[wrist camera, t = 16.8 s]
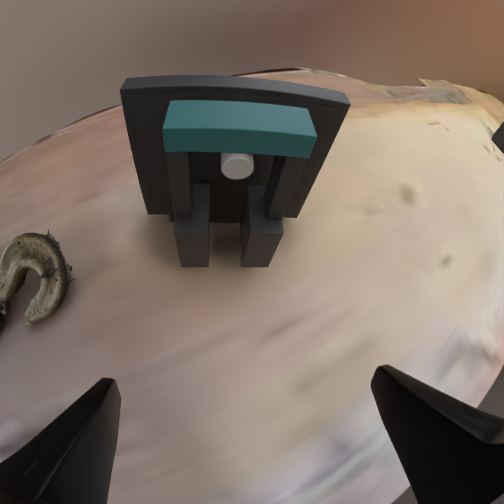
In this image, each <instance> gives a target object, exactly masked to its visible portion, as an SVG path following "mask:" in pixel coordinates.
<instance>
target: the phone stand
mask: <svg viewBox="0 0 504 504" xmlns="http://www.w3.org/2000/svg"><path fill="white" fill-rule="evenodd" d="M492 140H493V142H494V143H495V144H496V145H497V146H498V147H499V148H500V149H501V151H502V152H503V153H504V122H503V123H502V124H501V126H500V127H499V128H498V129H497V131H496V132H495V133H494V135H493V137H492Z"/></svg>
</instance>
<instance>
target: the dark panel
mask: <svg viewBox="0 0 504 504" xmlns="http://www.w3.org/2000/svg"><path fill="white" fill-rule="evenodd" d="M120 94H121V99H122V105H123V111H124V116H125V121H126V127H127V131H128V136H129V141H130V146H131V150H132V154H133V159H134V163H135V167H136V171H137V175H138V179H139V183H140V187H141V191H142V195H143V199H144V202H145V206H146V210H147V213H148V215H169V218H170V222H175V214H174V208H173V201H172V195H171V188H170V181H169V173H168V166H167V158H166V152H165V148H164V140H163V131H162V128H163V124H164V121H165V117H166V113H167V110H168V106H169V103H170V101H174V100H214V101H238V102H252V103H264V104H274V105H283V106H291V107H299V108H306V109H308V111H309V114H310V117H311V120H312V123H313V126H314V128H315V131H316V134H317V139H316V142H315V144H314V147H313V149H312V152H311V154H310V157H309V158H307V159H306V162H305V164H304V167H303V169H302V172H301V174H300V177H299V179H298V182H297V184H296V186H295V189H294V191H293V194H292V196H291V199H290V201H289V204H288V206H287V209H286V211H285V213H284V216H283V217H289V218H297V216H298V214H299V212H300V210H301V208H302V206H303V204H304V202H305V200H306V198H307V196H308V194H309V192H310V190H311V188H312V186H313V184H314V182H315V179H316V177H317V175H318V173H319V171H320V169H321V167H322V165H323V163H324V161H325V159H326V156H327V154H328V152H329V150H330V148H331V146H332V144H333V142H334V140H335V137H336V135H337V133H338V131H339V129H340V127H341V125H342V122H343V120H344V118H345V116H346V114H347V112H348V109H349V107H350V102H349V101H348V99H347V97H346V95H345V93H343V92H338V91H334V90H329V89H325V88H320V87H314V86H309V85H303V84H297V83H291V82H284V81H276V80H268V79H259V78H248V77H235V76H215V75H214V76H213V75H171V76H149V77H136V78H127V79H126V80H125V82H124V84H123V85H122V87H121V89H120ZM274 158H275V155H265V154H249V153H226V152H192V171H193V183H195V184H210V204H209V222H230V223H240V219H241V214H242V209H243V204H244V198H245V193H246V188H247V185H263V186H267V183H268V179H269V176H270V172H271V168H272V165H273V161H274Z"/></svg>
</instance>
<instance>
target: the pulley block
mask: <svg viewBox="0 0 504 504" xmlns="http://www.w3.org/2000/svg"><path fill="white" fill-rule="evenodd" d="M29 269H34V270H35V271H36V272H37V273H38V274H39V276H40V289H39V292H38V293H37V294H36V295H35V296H34V297H33V298H32V300H31V301H30V302H29V304H28V306H27V308H26V309H25V311H24V318H25V323H26V324H27V325H31V326H32V325H34V324H35V323H36V322H37V321H39V320H41V319H43V318H45V317H47V316H49V315H51V314H52V313H54V312H55V311H56V310H57V309H58V308H59V307H60V305H61V304H62V302H63V300H64V298H65V296H66V293H67V289H68V286H69V283H70V282H72V281H73V280H75V279H73V278H72V277H71V274H70V271H71V270H72V267H71V266H70V265H68V264H67V262H66V260H65V258H64V256H63V254H62V252H61V250H60V246H59V242H57V241H55V237H53V236H52V235H51V234H50V233H49V230H48V234H47V235H43V234H38V233H25V234H23V235H20V236H18V237H16V238H15V239H13V240H12V241H11V242H10V243H9V244H8V246H7V247H6V248H5V250H4V251H3V254H2V257H1V260H0V329H1V328H2V326H3V325H5V324H6V320H5V315H6V313H7V312H8V311H9V307H10V302H11V300H12V299H13V297H14V295H15V294H16V293H17V291H18V290H19V289H20V288H21V286H22V285H23V284H24V281H25V278H26V275H27V272H28V271H29Z"/></svg>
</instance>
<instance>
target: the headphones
mask: <svg viewBox="0 0 504 504" xmlns="http://www.w3.org/2000/svg"><path fill="white" fill-rule="evenodd" d="M162 131H163V140H164V148H165V152H166V158H167V166H168V173H169V181H170V188H171V195H172V201H173V208H174V214H175V226H174V234H175V239H176V244H177V249H178V254H179V258H180V263H181V267H208V266H209V204H210V184H195V183H193V171H192V152H226V153H249V154H265V155H275V158H274V161H273V165H272V168H271V172H270V176H269V179H268V183H267V186H263V185H247V188H246V193H245V198H244V204H243V209H242V214H241V219H240V225H239V229H240V251H241V267H268V266H269V264H270V261H271V259H272V257H273V255H274V253H275V251H276V248H277V246H278V244H279V242H280V240H281V237H282V235H283V226H282V218H283V216H284V213H285V211H286V209H287V206H288V204H289V201H290V199H291V196H292V194H293V191H294V189H295V186H296V184H297V182H298V179H299V177H300V174H301V172H302V169H303V167H304V164H305V162H306V159H307V158H309V157H310V154H311V152H312V149H313V147H314V144H315V142H316V139H317V134H316V131H315V128H314V126H313V123H312V120H311V117H310V114H309V111H308V109H306V108H299V107H291V106H283V105H274V104H264V103H252V102H238V101H214V100H174V101H170V103H169V106H168V110H167V113H166V117H165V121H164V124H163V128H162Z"/></svg>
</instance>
